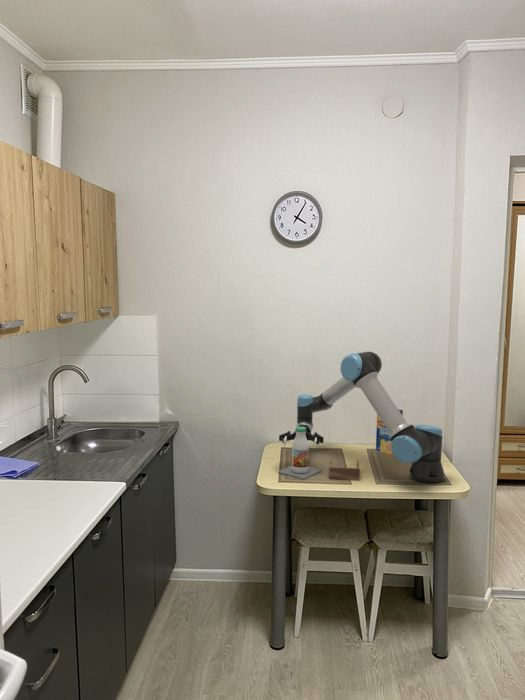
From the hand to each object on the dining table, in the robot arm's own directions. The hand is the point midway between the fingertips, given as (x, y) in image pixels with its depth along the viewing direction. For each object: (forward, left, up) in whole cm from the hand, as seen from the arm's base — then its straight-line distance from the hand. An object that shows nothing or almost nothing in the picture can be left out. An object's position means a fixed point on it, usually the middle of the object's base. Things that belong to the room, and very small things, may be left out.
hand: (299, 443), depth 256 cm
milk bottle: (+1, -2, -13) cm, 14 cm away
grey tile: (+1, -3, -14) cm, 14 cm away
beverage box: (-15, -57, -14) cm, 61 cm away
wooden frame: (-16, -13, -14) cm, 24 cm away
